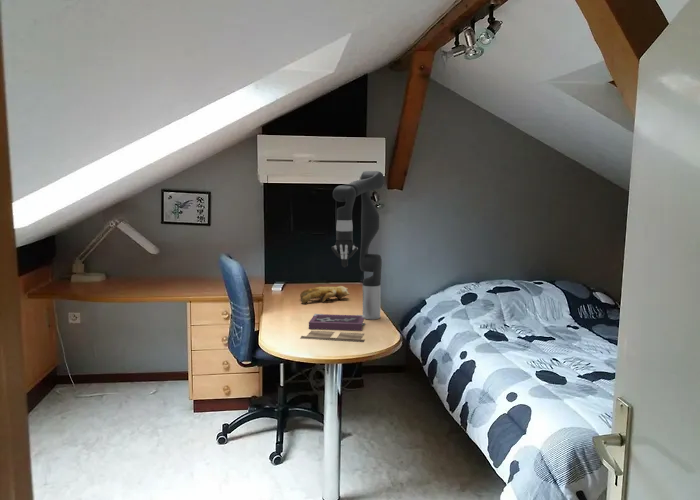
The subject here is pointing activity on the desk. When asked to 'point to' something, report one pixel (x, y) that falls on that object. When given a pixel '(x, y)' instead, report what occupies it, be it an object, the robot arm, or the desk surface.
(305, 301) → the toy
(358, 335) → the plank
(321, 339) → the strip
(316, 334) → the plank
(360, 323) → the purple gear tray
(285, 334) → the desk surface
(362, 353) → the desk surface
